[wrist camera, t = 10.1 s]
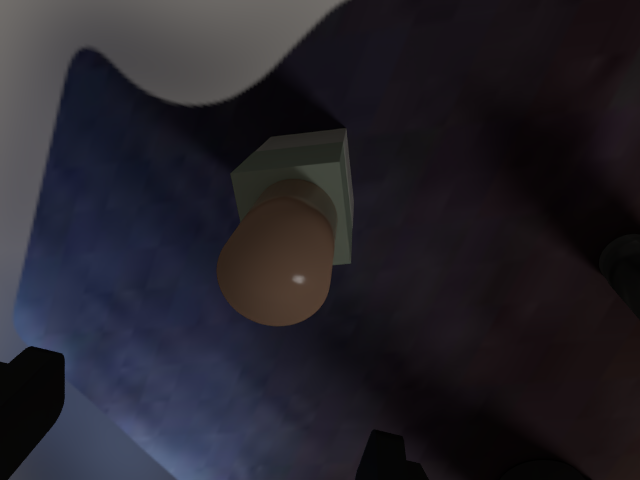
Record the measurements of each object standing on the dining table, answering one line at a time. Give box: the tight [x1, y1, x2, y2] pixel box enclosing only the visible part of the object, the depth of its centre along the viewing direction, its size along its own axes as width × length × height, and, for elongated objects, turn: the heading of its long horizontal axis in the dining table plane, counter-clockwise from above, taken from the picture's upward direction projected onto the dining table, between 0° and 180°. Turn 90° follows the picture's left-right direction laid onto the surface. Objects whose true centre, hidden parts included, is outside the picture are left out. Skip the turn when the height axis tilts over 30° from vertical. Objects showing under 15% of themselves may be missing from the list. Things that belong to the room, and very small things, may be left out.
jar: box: [217, 179, 338, 326], centre depth 22 cm, size 5×5×7 cm
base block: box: [255, 128, 354, 227], centre depth 33 cm, size 6×6×6 cm
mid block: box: [230, 142, 352, 265], centre depth 28 cm, size 6×6×6 cm
